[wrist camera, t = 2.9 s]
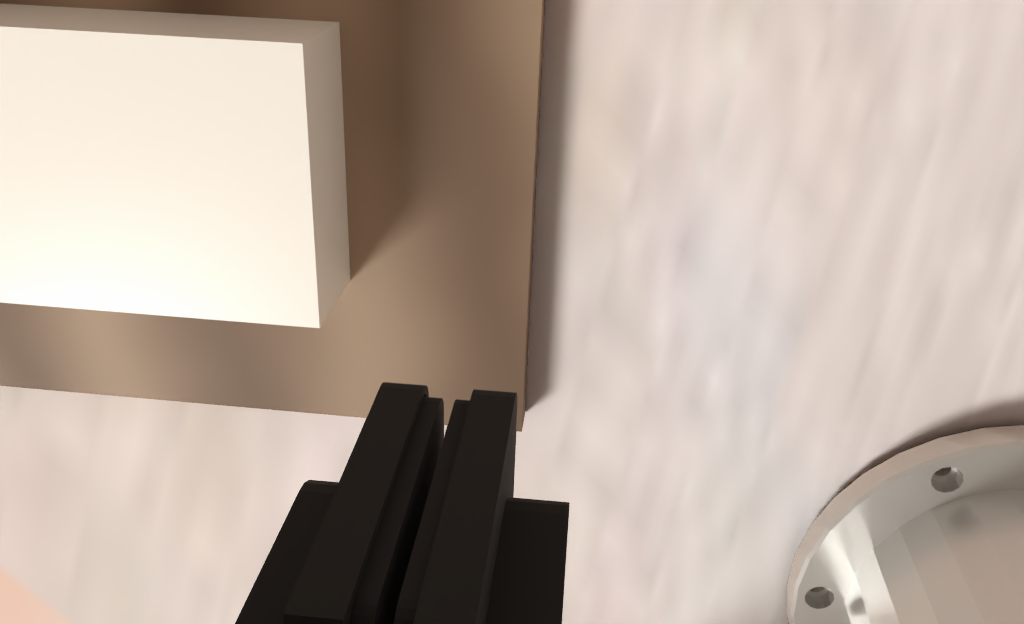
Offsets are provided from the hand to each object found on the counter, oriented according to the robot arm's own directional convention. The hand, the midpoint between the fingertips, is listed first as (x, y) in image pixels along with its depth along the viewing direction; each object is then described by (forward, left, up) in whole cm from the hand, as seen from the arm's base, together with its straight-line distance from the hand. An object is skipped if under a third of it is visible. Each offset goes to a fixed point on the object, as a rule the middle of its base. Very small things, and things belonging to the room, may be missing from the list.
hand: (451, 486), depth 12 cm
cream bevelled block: (+13, 0, -14) cm, 19 cm away
